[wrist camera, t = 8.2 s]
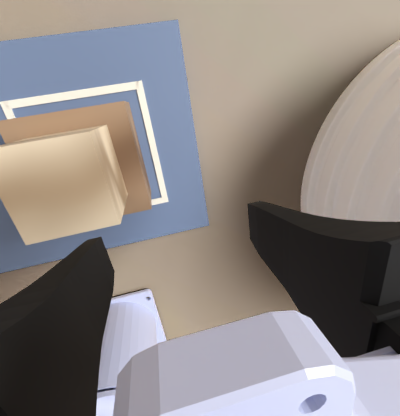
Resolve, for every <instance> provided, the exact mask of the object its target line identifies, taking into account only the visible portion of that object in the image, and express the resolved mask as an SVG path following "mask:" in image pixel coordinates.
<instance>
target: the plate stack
mask: <svg viewBox="0 0 400 416" xmlns="http://www.w3.org/2000/svg"><path fill="white" fill-rule="evenodd" d="M301 212H303V213H308V214H312V215H317V216H323V217H329V218H336V219H344V220H356V221H375V222H400V39H399V40H398V41H396V42H395V43H393V44H392V45H390V46H389V47H388V48H386V49H385V50H384V51H383V52H381V53H380V54H379V55H378V56H377V57H375V58H374V59H373V60H372V61H371V62H370V63H369V64H368V65H367V66H366V67H365V68H364V69H363V70H362V71H361V72H360V73H359V74H358V75H357V76H356V77H355V78H354V79H353V80H352V82H351V83H350V84H349V85H348V86H347V88H346V89H345V90H344V92H343V93H342V94H341V96H340V97H339V98H338V100H337V101H336V103H335V104H334V106H333V107H332V109H331V110H330V112H329V114H328V115H327V117H326V119H325V121H324V122H323V124H322V126H321V128H320V130H319V132H318V134H317V136H316V139H315V141H314V143H313V146H312V148H311V151H310V154H309V157H308V160H307V164H306V167H305V171H304V176H303V181H302V188H301Z"/></svg>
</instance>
